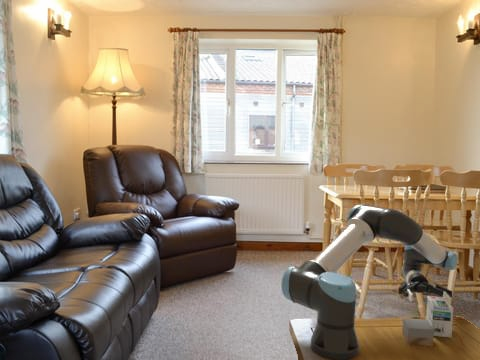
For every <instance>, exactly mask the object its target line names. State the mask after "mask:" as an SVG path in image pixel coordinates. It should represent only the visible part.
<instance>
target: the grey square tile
mask: <svg viewBox="0 0 480 360" xmlns="http://www.w3.org/2000/svg"><path fill="white" fill-rule="evenodd" d="M402 327H403V328H404V330H405V332H406V334H407V336H408V337H419V338H433V339H434V337H435V336H434V329H433V328H432V326H431V325H430V323H429V322H428V320H426V319H423V318H421V319H420V318H419V319H418V318H405V317H403V318H402Z"/></svg>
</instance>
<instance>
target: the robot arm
mask: <svg viewBox="0 0 480 360" xmlns="http://www.w3.org/2000/svg"><path fill="white" fill-rule="evenodd" d="M376 238H377V239H383V240H389V241H394V242H399V243H401V244H402V245H404V258H403V259H404V261H403V266H402V268H401V275H402V278H403V279H404V281H403V280H402V281H403V282H402V284H401V285H400V286H399V287H398V292H397V293H398V294H399V295H402V294H403V297H405V298H407V299H408V300H409V302H410V303H411V302H413V293H416V294H417V293H419V294H420V293H421V294H422V293H427V294H433V295H435V296H436V295H437V296H438V297H446V298H447V300H448V302H449V303H450V304H451V299H452V298H453V290H451V289H448V288H446V287H444V286H442V285H440V284H438V283H434V285H433V284H431V283H429V280H428V279H427V278H426V276H425V275H424V274H423V272H422V270H423V269H422V268H423V267H422V266H423V264H424V265H426V266H431V267H435V268H439V269H444V270H448V271H454V270H455V269H456V268H457V266H458V262H459V259H458V254H457V253H455V252H452V251H451V250H450V251H448V250H445V248H443V247H442V246H441V245H440V244H438V242H436V241H435V240H434V239H433V238H431V237H430V236H429V235H428V234H427V233H426V232H424V230H423V228H422V226H421V224H419V223H418V222H417V221H416V220H414V219H413V218H412V217H411V216H409V215H407V214H406V213H404V212H402V211H400V210H398V209H394V208H389V207H388V208H386V207H381V206H376V205H370V204H357V205H355V206H353V207H352V208H351V209H350V210H349V212H348V215H347V216H346V228H345V229H344V230H342V231H341V232H340V234H338V235H337V236H336V237H335V238H334V239H333V240H332V241H331V242H330V243H329V244H328V245H327V246H326V247H325V248H324V249H323V250H321V252H319V254H318V255H316V256H315V258H313V259H312V260H311V259H307V260H305V261H304V262H303V263H302V264H301V265H300V266H296V265H291V266H289V267H288V268H287V269H285V272H284V273H283V275H282V277H281V284H280V285H281V291H282V292H281V293H282V295H283V297H285V299H286V300H289V301H290V302H292V303H294V304H298V305H300V306H302V307H304V308H308V309H311V310H314V311H315V312H316V313H317V315H316V318H317V319H316V325H315V328H314V330H313V332H312V336H311V338H310V349H311V350H312V351H313V352H314V353H315V354H317V355H318V356H320V357H323V358H326V359H330V360H349V359H353V358H356V357H357V356H358V355H359V352H360V342H359V340H358V335H357V332H356V329H355V320H356V319H355V318H356V317H355V316H356V305H357V303H356V302H357V301H356V299H357V288H356V287H357V286H356V283H355V282H354V280H353V279H352V278H351V277H349V276H348V275H345V274H342V273H340V272H339V273H338V271H339V270H340V269H341V268H342V267H343V266H344V265H345V264H346V263H347V262H348V261H349V260H350V258H351V257H352V256H353V255H354V254H356V253H357V251H358V250H359V249H360V248H361V247H363V245H369V244H371V243H372V242H373V241H374V240H375V239H376Z"/></svg>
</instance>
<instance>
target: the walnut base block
mask: <svg viewBox="0 0 480 360" xmlns="http://www.w3.org/2000/svg"><path fill="white" fill-rule="evenodd" d="M401 331H402V332H401V335H402V336H403V338H404V340H405V342H406V344H407V345H412V346H413V345H415V346H426V347H427V346H428V347H433V346H434V338H419V337H408V336H407V334H406V332H405V330H404V328H403V326H402V330H401Z"/></svg>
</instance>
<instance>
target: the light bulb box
mask: <svg viewBox="0 0 480 360" xmlns="http://www.w3.org/2000/svg"><path fill="white" fill-rule="evenodd" d="M425 313H426V314H425V315H426V316H425V320H428V322H429V323H430V325H431V326H432V328H433V329H434V337H442V338H452V336H453V335H452V334H453V322H454V321H453V317H454V307H453V305H451V302H450V303H449V302H448V300H447V298H446V297H442V296H436V295H435V296H434V295H427V297H426V312H425Z"/></svg>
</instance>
